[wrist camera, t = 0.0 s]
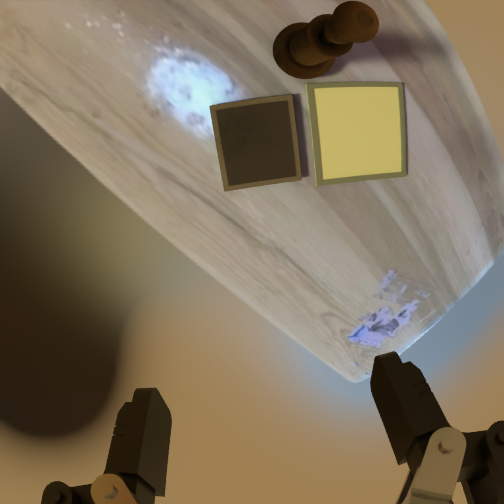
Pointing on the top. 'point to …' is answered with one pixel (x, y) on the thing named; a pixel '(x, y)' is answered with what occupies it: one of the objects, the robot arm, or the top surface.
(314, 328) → the top surface
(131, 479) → the robot arm
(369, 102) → the print card
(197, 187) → the top surface
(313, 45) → the brown wooden stamp
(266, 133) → the ink pad
